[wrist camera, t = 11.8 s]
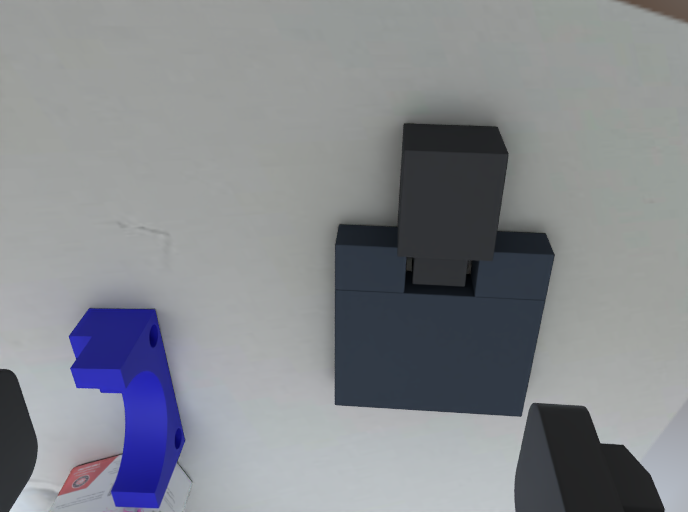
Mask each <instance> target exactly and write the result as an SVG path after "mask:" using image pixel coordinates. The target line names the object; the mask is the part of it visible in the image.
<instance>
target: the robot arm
mask: <svg viewBox="0 0 688 512" xmlns="http://www.w3.org/2000/svg"><path fill="white" fill-rule="evenodd" d="M37 451H38V444H37V438H36V434H35V431H34V428H33V425H32V422H31V419H30V416H29V413H28V410H27V407H26V403H25V400H24V397H23V394H22V391H21V388H20V385H19V382H18V379H17V377H16V375H15V374H14V373H13V372H12V371H10V370H7V369H0V512H9V511H10V509H11V508H12V506H13V504H14V503H15V501H16V500H17V498H18V496H19V495H20V493H21V492H22V490H23V488H24V487H25V485H26V484H27V482H28V480H29V479H30V477H31V475H32V472H33V470H34V467H35V463H36V459H37ZM514 492H515V510H516V512H664V510H665V509H664V506H663V504H662V501H661V499H660V497H659V494H658V492H657V489H656V487H655V485H654V482H653V480H652V477H651V475H650V474H649V473H648V472H647V471H646V470H645V468H644V467H643V466H642V465H641V464H640V463H639V462H638V461H637V459H636V458H635V457H634V456H633V455H632V454H631V453H630V452H629V451H628V450H627V448H626V447H625V446H624V445H616V444H601V443H600V441H599V439H598V436H597V433H596V430H595V427H594V425H593V422H592V419H591V416H590V414H589V412H588V410H587V408H586V407H584V406H575V405H559V404H543V403H533V404H532V405H531V406H530V409H529V412H528V417H527V422H526V426H525V431H524V436H523V441H522V445H521V450H520V455H519V460H518V464H517V469H516V475H515V489H514Z"/></svg>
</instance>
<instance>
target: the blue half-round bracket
mask: <svg viewBox="0 0 688 512" xmlns="http://www.w3.org/2000/svg"><path fill="white" fill-rule="evenodd" d="M69 338H70V342H71V345H72V348H73V351H74V354H75V357H76V361H75V362H74V364H73V365H72V367H71V368H70V369H71V372H72V375H73V378H74V381H75V384H76V387H77V388H95V389H100V392H101V393H122V396H123V400H124V407H125V440H124V448H123V454H122V459H121V463H120V467H119V471H118V474H117V477H116V480H115V483H114V485H113V487H112V490H111V494H112V497H113V500H114V503H115V506H116V507H135V508H159V507H160V504H161V502H162V499H163V497H164V494H165V492H166V489H167V486H168V484H169V481H170V479H171V476H172V474H173V471H174V468H175V466H176V463H177V461H178V458H179V456H180V453H181V450H182V448H183V445H184V443H185V438H184V434H183V429H182V425H181V421H180V416H179V412H178V407H177V403H176V399H175V394H174V390H173V385H172V381H171V377H170V372H169V368H168V363H167V359H166V355H165V350H164V346H163V341H162V337H161V333H160V328H159V324H158V320H157V315H156V311H155V309H91V308H89V309H88V311H87V312H86V313H85V315H84V316H83V318H82V319H81V320H80V322H79V323H78V324H77V326H76V327H75V328H74V330H73V331H72V333H71V334H70V335H69Z"/></svg>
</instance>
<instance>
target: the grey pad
mask: <svg viewBox="0 0 688 512" xmlns="http://www.w3.org/2000/svg"><path fill="white" fill-rule="evenodd" d="M397 249H398V227H386V226H363V225H341V224H340V225H339V227H338V233H337V238H336V244H335V405H342V406H358V407H374V408H390V409H406V410H422V411H438V412H455V413H471V414H487V415H503V416H519V417H521V416H522V412H523V407H524V402H525V397H526V392H527V387H528V382H529V377H530V373H531V368H532V363H533V358H534V353H535V348H536V343H537V338H538V333H539V329H540V324H541V319H542V314H543V309H544V304H545V299H546V295H547V290H548V285H549V280H550V275H551V270H552V265H553V261H554V256H555V255H554V252H553V250H552V248H551V245H550V243H549V240H548V238H547V235H546V234H545V233H522V232H500V231H497V235H496V242H495V249H494V255H493V261H475V260H472V266H471V274H466V281H465V286H444V285H425V284H413V283H412V271H406V260H407V257H398V256H397Z"/></svg>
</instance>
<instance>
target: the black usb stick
mask: <svg viewBox="0 0 688 512" xmlns="http://www.w3.org/2000/svg"><path fill="white" fill-rule="evenodd" d="M507 162H508V152H507V149H506V147H505V144H504V142H503V139H502V137H501V134H500V132H499V129H498V127H486V126H458V125H430V124H404V126H403V143H402V160H401V176H400V193H399V210H398V249H397V256H398V257H412V283H413V284H425V285H444V286H465V281H466V273H467V266H468V260H475V261H493V255H494V249H495V242H496V235H497V229H498V222H499V215H500V209H501V202H502V195H503V189H504V182H505V175H506V169H507Z"/></svg>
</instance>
